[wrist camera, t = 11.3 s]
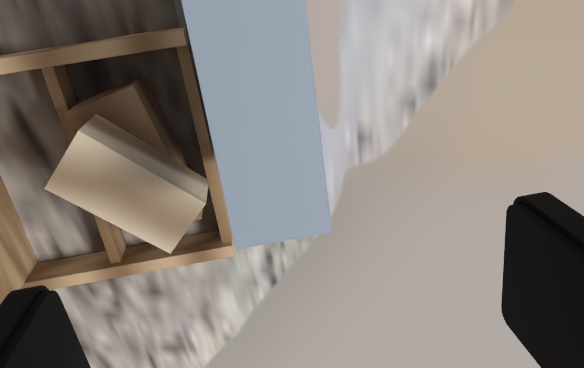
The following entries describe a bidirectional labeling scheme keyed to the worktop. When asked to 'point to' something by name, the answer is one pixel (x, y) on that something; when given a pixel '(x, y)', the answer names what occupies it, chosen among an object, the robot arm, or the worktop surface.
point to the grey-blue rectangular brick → (262, 116)
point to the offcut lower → (131, 117)
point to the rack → (118, 257)
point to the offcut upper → (129, 184)
